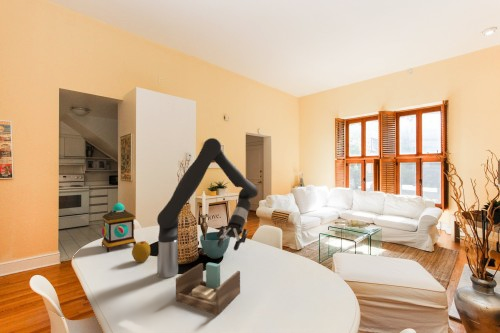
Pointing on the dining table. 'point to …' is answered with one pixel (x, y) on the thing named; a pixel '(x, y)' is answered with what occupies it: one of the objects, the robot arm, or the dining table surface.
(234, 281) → the walnut rack
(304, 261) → the dining table surface
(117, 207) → the decorative lantern
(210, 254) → the plant pot
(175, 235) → the robot arm
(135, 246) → the apple
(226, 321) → the dining table surface
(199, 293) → the offcut stack
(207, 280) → the teal board
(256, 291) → the dining table surface
